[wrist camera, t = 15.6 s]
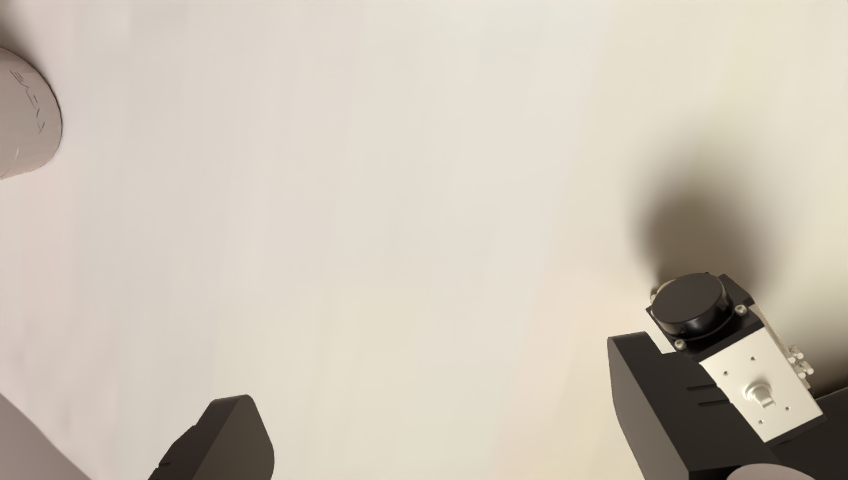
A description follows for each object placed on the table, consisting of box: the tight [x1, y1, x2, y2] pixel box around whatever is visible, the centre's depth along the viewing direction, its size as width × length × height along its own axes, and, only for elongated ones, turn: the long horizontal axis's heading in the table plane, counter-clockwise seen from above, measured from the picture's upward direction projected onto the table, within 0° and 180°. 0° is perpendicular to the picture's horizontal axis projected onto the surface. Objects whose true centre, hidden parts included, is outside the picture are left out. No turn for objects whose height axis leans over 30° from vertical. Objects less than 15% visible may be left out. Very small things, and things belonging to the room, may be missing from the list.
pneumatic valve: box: [646, 272, 827, 448], centre depth 34 cm, size 6×12×12 cm, turn 39°
